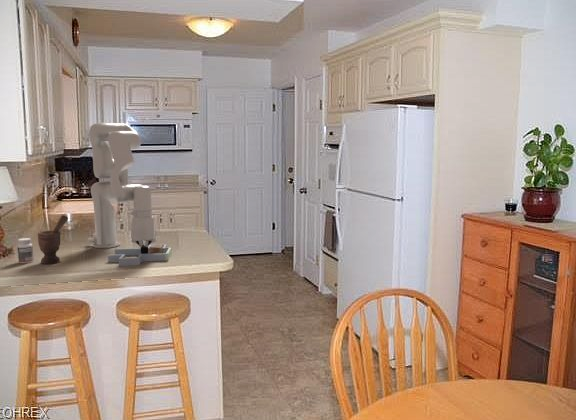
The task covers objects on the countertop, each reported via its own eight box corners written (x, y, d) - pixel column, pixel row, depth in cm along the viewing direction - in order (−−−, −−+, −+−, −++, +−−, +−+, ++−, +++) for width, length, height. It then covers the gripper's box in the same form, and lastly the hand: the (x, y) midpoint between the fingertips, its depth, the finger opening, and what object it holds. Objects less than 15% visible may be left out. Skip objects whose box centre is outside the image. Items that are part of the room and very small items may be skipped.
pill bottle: (22, 260, 218) (20, 237, 217) (35, 260, 218) (34, 237, 217) (16, 263, 212) (14, 240, 211) (30, 263, 213) (28, 240, 211)
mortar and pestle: (64, 257, 223) (61, 213, 220) (72, 261, 217) (69, 215, 214) (36, 262, 215) (33, 215, 212) (44, 265, 209) (41, 218, 206)
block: (149, 259, 220) (149, 247, 219) (151, 256, 225) (151, 245, 224) (161, 258, 221) (160, 247, 220) (162, 256, 225) (162, 245, 225)
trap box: (104, 266, 208) (103, 259, 207) (118, 251, 234) (118, 245, 234) (165, 264, 210) (165, 257, 210) (173, 250, 237) (173, 244, 237)
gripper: (123, 215, 215) (125, 257, 218) (159, 215, 217) (160, 256, 219) (127, 213, 223) (129, 253, 225) (161, 212, 224) (163, 253, 227)
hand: (144, 255), depth 222 cm, fingers closed
